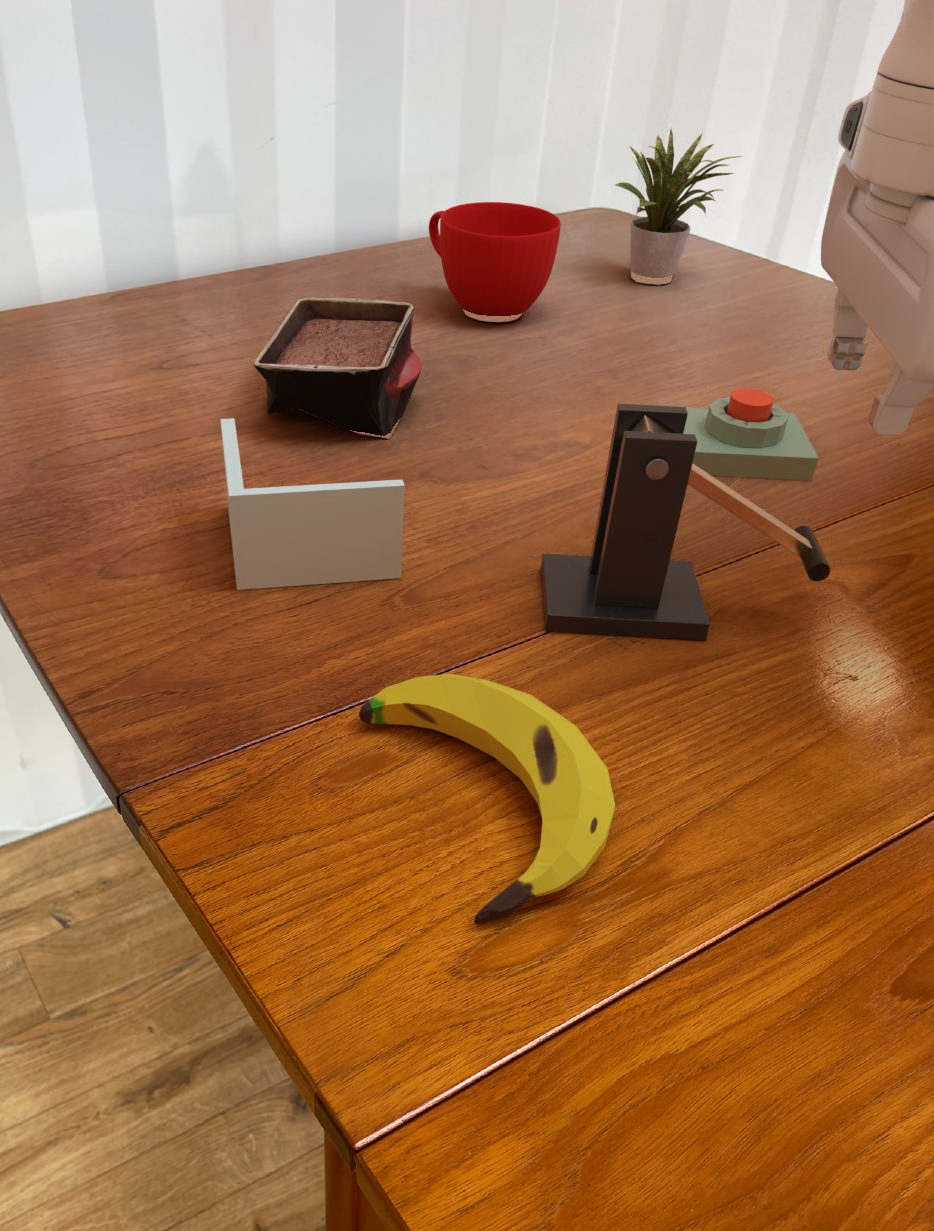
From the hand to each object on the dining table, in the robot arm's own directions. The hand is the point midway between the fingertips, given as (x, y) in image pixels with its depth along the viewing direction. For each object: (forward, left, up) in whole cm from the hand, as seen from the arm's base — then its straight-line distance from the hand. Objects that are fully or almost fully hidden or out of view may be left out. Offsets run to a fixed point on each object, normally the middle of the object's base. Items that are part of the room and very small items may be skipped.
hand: (862, 396), depth 64 cm
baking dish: (+35, -31, -16) cm, 50 cm away
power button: (-1, -25, -13) cm, 28 cm away
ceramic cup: (+22, -59, -16) cm, 65 cm away
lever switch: (+7, 0, -8) cm, 11 cm away
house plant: (+1, -71, -16) cm, 73 cm away
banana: (+23, +21, -16) cm, 35 cm away
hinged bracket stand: (+12, 0, -16) cm, 20 cm away
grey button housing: (-1, -25, -16) cm, 30 cm away
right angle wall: (+35, -6, -16) cm, 39 cm away
